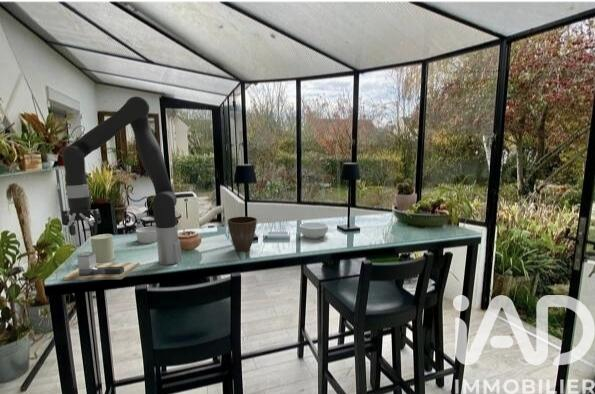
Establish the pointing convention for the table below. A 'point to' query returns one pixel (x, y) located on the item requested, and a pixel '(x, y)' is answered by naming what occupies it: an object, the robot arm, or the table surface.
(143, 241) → the ramekin
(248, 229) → the plant pot
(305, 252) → the table surface
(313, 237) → the cereal bowl
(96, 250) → the cream cylinder
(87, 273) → the ratchet
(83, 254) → the grey pocketed block
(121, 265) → the board
